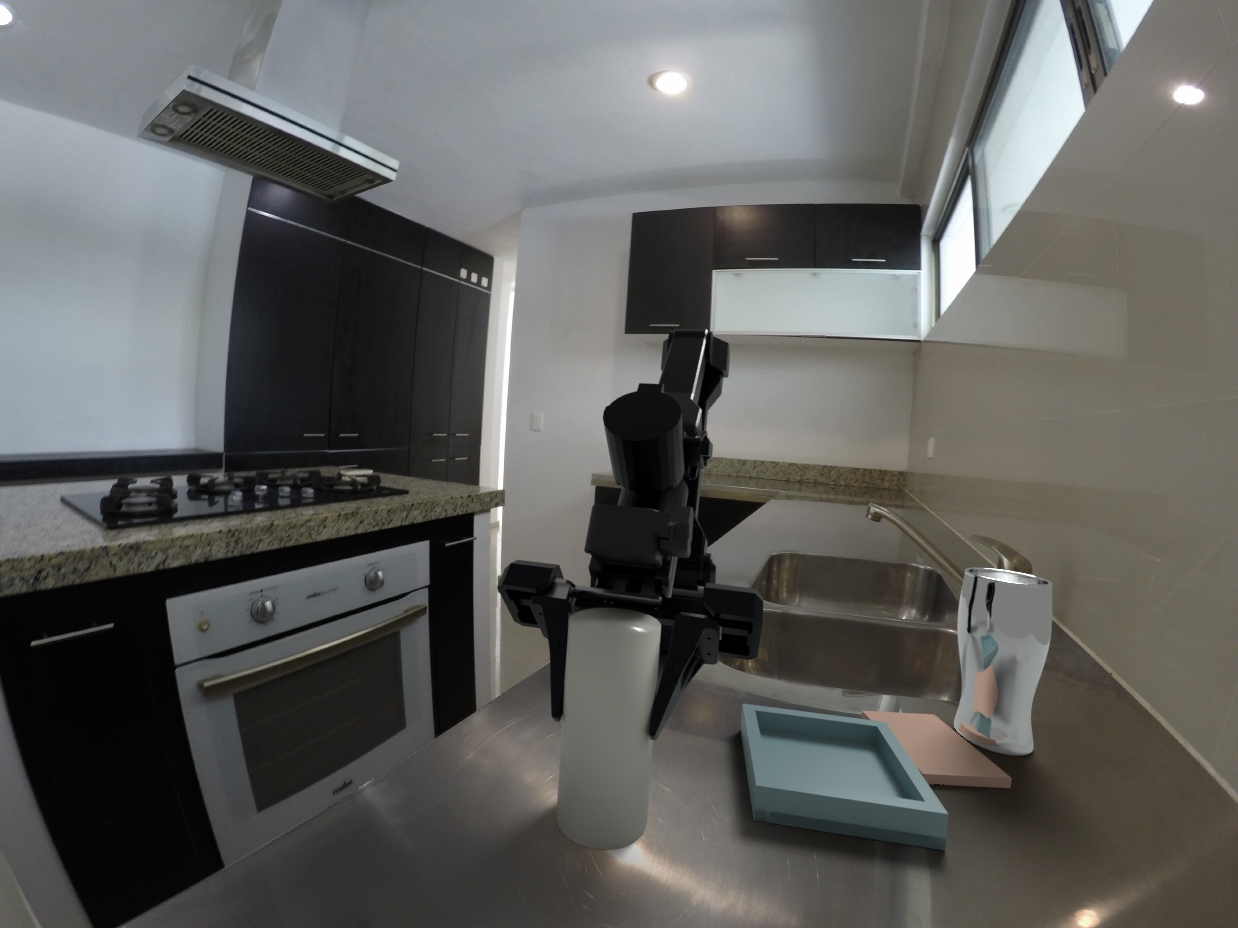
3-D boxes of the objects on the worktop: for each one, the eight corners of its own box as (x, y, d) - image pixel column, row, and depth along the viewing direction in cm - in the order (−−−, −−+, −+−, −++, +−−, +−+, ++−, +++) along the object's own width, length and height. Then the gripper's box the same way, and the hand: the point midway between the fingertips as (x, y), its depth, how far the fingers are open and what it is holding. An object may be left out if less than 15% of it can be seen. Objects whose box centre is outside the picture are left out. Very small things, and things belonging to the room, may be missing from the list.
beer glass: (997, 762, 46) (1014, 585, 46) (930, 721, 53) (944, 566, 53) (1059, 755, 48) (1076, 585, 48) (987, 716, 55) (1001, 566, 54)
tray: (740, 729, 49) (742, 703, 49) (883, 749, 47) (885, 721, 47) (753, 819, 37) (756, 785, 37) (945, 850, 35) (948, 813, 35)
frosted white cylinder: (567, 781, 40) (579, 603, 39) (650, 794, 39) (663, 613, 39) (545, 840, 34) (558, 631, 33) (642, 857, 33) (657, 643, 33)
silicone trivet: (861, 718, 53) (862, 710, 53) (933, 722, 53) (934, 714, 53) (922, 783, 43) (923, 773, 43) (1010, 787, 43) (1011, 777, 43)
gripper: (515, 453, 42) (424, 648, 31) (773, 472, 37) (765, 706, 27) (546, 540, 50) (481, 719, 39) (761, 564, 45) (751, 772, 35)
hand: (602, 728), depth 35 cm, fingers closed on frosted white cylinder, 6 cm apart
